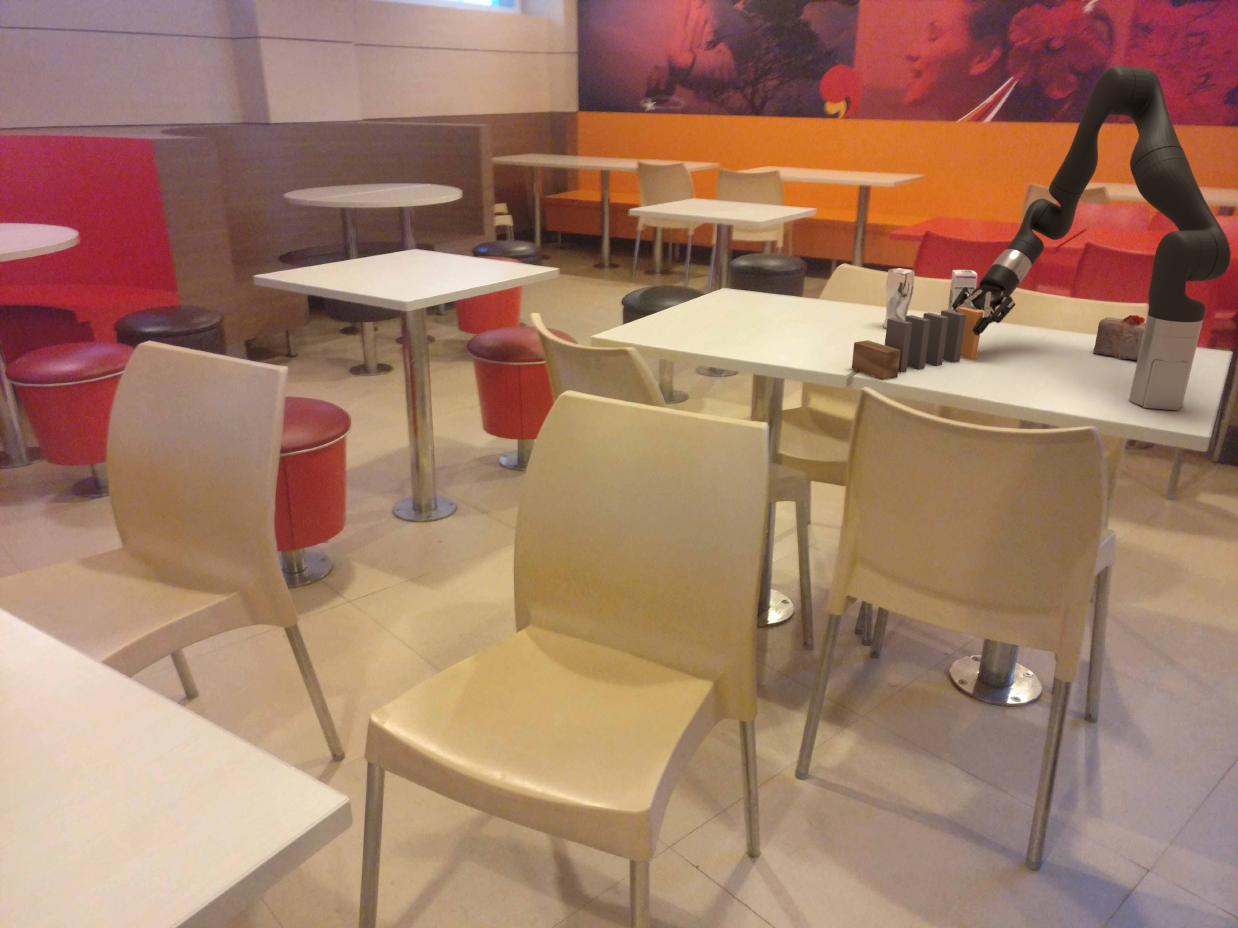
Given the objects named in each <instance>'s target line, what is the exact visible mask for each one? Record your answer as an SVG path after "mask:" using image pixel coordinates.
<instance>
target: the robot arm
mask: <svg viewBox="0 0 1238 928" xmlns="http://www.w3.org/2000/svg"><path fill="white" fill-rule="evenodd" d="M1163 90H1164V89H1163V87H1162V84H1161V81H1160V79H1159V76H1158V75H1157V74H1156V72H1155V71H1153V70H1151V69H1150V68H1145V67H1133V66H1124V65H1115V66H1114V65H1113V66H1110V67H1109V68H1108V67H1107V68H1106V69H1105V70H1104V71H1103V72H1102V73H1101V75H1100V76H1099V78H1098V79H1097V81H1096V82H1095V84H1094V86H1093V89H1092V91H1091V93H1090V95H1089V99H1088V101H1087V103H1086V105H1085V108H1084V111H1083V113H1082V116H1081V118H1080V121H1079V124H1078V126H1077V130H1076V132H1075V135H1074V137H1073V140H1072V142H1071V145H1070V148H1069V149H1068V152H1067V154H1066V156H1065V158H1064V160H1063V162H1062V163H1061V164H1060V165H1059V166H1060V167H1059V169H1058V170H1057V172H1056V174H1055V176H1053V179H1052V181H1051V182H1050V184H1049V187H1048V192H1049V195H1050V196H1051V197H1052V198H1053V199H1054V200H1055V201H1056V203H1057V202H1058V204H1059V205H1058V204H1056V203H1054V202H1052V201H1050V200H1048V199H1046V198H1038V199H1035V200H1033V201H1032V202H1031V203H1030V204H1029V205H1028V207H1027V208H1026V211H1025V214H1024V216H1023V219H1022V222H1021V225H1020V227H1019V229H1018V231H1017V233H1016V234H1015V236H1014V237H1013V239H1012V240H1011V241H1010V243H1009V244H1008V245H1007V247H1006V248H1005V249H1004V251H1002V253H1001V254H999V255H998V257H997V258H996V259H995V261H993V263H992V264H991V266H990V267H989V268H988V269H987V271H986V272H985V274H983V276H982V277H981V279H980V282H979V285H978V286H976V289H974V290H968V288H967V287H964V288H963V289H962V291H961V292H960V294H959V295H958V297H957V298H956V300H955V301H954V303H953V304H952V307H953V309H954V310H955V312H958V308H962V307H965V308H966V307H967V308H969V309H974V310H978V311H983V317H981V319H980V320H979V321H978V323H977V324H976V325H975V326H974V328H973V332H974V334H975V335H980V336H981V334H983V333H984V331H985V330H986V329H987V328H988V326H990V324H993V323H996V324H1000V323H1001V322H1002V321H1003V319H1005V317H1006V316H1007V315H1008V314H1009V313H1010V312H1011V311H1012V310H1013V308H1014V307H1015V306H1016V303H1015V300H1014V299H1013V297H1012V296H1011V295H1012V294H1013V293H1014V291H1015V290H1016V289H1017V287H1019V285H1020V284H1021V282H1022V281H1023V280H1024V278H1025V277H1026V276H1027V274H1028V273H1029V271H1030V269H1031V267H1032V266H1033V265H1034V263H1036V261H1037V260H1038V258H1039V257H1040V256H1041V254H1042V253H1043V252H1044V250H1045V244H1044V243H1043V240H1042V239H1041V238H1040V237H1039V236H1038V235H1037V234H1036V233H1038V234H1041V235H1042V236H1044V237H1046V238H1048V239H1050V240H1053V241H1058V240H1061V239H1063V238H1064V237H1065V236H1067V235H1068V233H1069V232H1070V231H1071V228H1072V227H1073V223H1074V218H1075V216H1076V210H1077V207H1078V204H1079V201H1080V199H1081V197H1082V195H1083V193H1084V191H1085V189H1086V188H1087V186H1088V185H1089V183H1090V181H1091V180H1092V178H1093V177H1094V174H1095V173H1096V170H1097V167H1098V160H1099V149H1098V147H1099V146H1098V145H1099V143H1098V139H1099V133H1100V130H1101V128H1102V126H1103V124H1104V122H1105V121H1106V119H1108V117H1109V116H1110V115H1114V116H1124V117H1125V116H1126V117H1128V118H1130V119H1132V121H1133V123H1134V124H1135V126H1136V131H1137V133H1138V137H1137V141H1136V143H1135V145H1134V147H1133V150H1132V153H1131V156H1130V161H1129V166H1130V171H1131V176H1132V177H1133V180H1134V183H1135V185H1136V188H1137V190H1138V192H1139V194H1140V196H1141V197H1142V198H1143V199H1144V200H1145V201H1146V202H1147V203H1148V204H1150V206H1152V207H1153V208H1154V209H1156V210H1157V211H1158V212H1160V213H1161V214H1162V215H1163V216H1164V217H1166V218H1167V219H1168V220H1169V221H1171V222H1172V223H1173V225H1175V227H1176V229H1178V230H1174V231H1169V232H1168V233H1166V234H1165V235H1164V236H1163V237H1162V238H1161V240H1160V241H1159V243H1158V245H1157V247H1156V249H1155V253H1154V259H1153V263H1152V269H1151V277H1150V282H1149V288H1148V296H1147V297H1148V311H1147V314H1146V316H1147V317H1146V319H1145V323H1146V324H1145V328H1144V333H1143V337H1142V342H1141V346H1140V351H1139V355H1138V360H1137V361H1136V365H1135V370H1134V374H1133V379H1132V385H1131V389H1130V393H1129V398H1128V399H1129V401H1130V402H1131V403H1133V404H1135V405H1138V406H1141V407H1142V408H1144V409H1154V410H1155V409H1156V410H1169V411H1179V410H1180V408H1182V407H1183V405H1184V400H1185V396H1186V392H1187V389H1188V383H1189V379H1190V376H1191V371H1192V367H1193V362H1194V358H1195V355H1196V350H1197V346H1198V342H1199V338H1200V333H1201V329H1202V326H1203V323H1204V319H1205V316H1206V315H1205V314H1206V308H1207V307H1206V305H1205V303H1203V302H1202V301H1200V300H1197V299H1194V298H1192V297H1190V296H1188V295H1187V293H1186V287H1187V282H1204V281H1206V282H1207V281H1213V280H1216V279H1218V278H1220V277H1222V276H1223V275H1224V274H1225V273H1226V272H1227V271H1228V268H1229V266H1230V263H1231V257H1232V256H1231V255H1232V254H1231V247H1230V243H1229V240H1228V237H1227V235H1226V234H1225V232H1224V230H1223V228H1222V226H1221V225H1220V223H1219V222H1218V220H1217V218H1216V216H1215V215H1214V214H1213V212H1212V210H1211V208H1210V207H1209V205H1208V203H1207V202H1206V200H1205V197H1204V196H1203V192H1202V191H1201V189H1200V187H1199V185H1198V182H1197V180H1196V179H1195V176H1194V174H1193V173H1194V172H1193V170H1192V168H1191V165H1190V163H1189V160H1188V156H1187V155H1186V152H1185V150H1184V148H1183V147H1182V145H1181V142H1180V140H1179V137H1178V135H1177V133H1176V130H1175V127H1174V124H1173V122H1172V120H1171V117H1170V113H1169V109H1168V106H1167V101H1166V99H1165V95H1164V91H1163ZM1035 232H1036V233H1035ZM971 302H972V304H973V305H974V306H971V305H970V303H971ZM958 304H959V305H958Z"/></svg>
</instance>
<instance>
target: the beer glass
mask: <svg viewBox="0 0 1238 928" xmlns="http://www.w3.org/2000/svg"><path fill="white" fill-rule="evenodd" d="M914 288H915V270H913V269H909V268H890V269H888V272H887V277H886V282H885V292H884V293H885V307H886V308H885V309H886V311H885V313H886V314H885V319H884V321H883V322H884V323H883V326H882V327H883V329H885V330H886V328H887V319H889V318H896V319H900V320H904V321H905V318H906V316H908V311H909V308H910V305H911V302H912V298H913V295H914Z"/></svg>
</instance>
